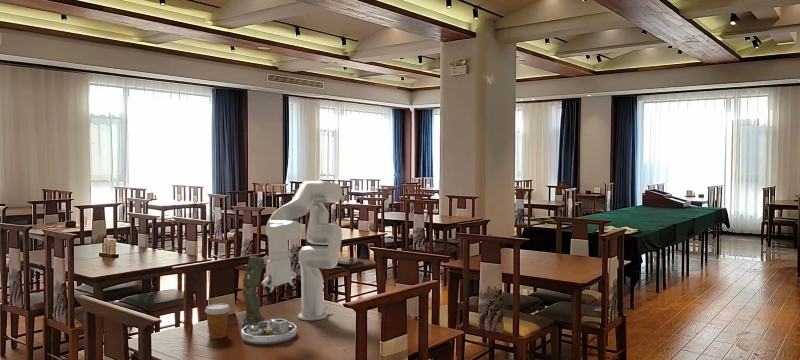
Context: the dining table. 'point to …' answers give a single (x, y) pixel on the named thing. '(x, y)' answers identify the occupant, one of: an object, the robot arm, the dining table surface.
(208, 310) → the disposable coffee cup
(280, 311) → the dining table surface
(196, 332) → the dining table surface
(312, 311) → the robot arm
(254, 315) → the mechanical leg
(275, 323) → the grey hollow boxy piece
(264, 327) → the tray
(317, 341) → the dining table surface
